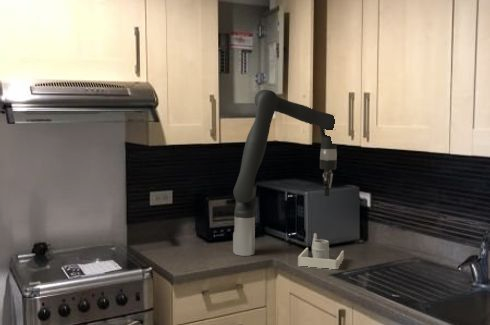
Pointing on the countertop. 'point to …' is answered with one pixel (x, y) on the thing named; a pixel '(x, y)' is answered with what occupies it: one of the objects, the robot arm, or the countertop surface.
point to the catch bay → (319, 261)
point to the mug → (320, 248)
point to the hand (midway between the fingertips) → (327, 195)
